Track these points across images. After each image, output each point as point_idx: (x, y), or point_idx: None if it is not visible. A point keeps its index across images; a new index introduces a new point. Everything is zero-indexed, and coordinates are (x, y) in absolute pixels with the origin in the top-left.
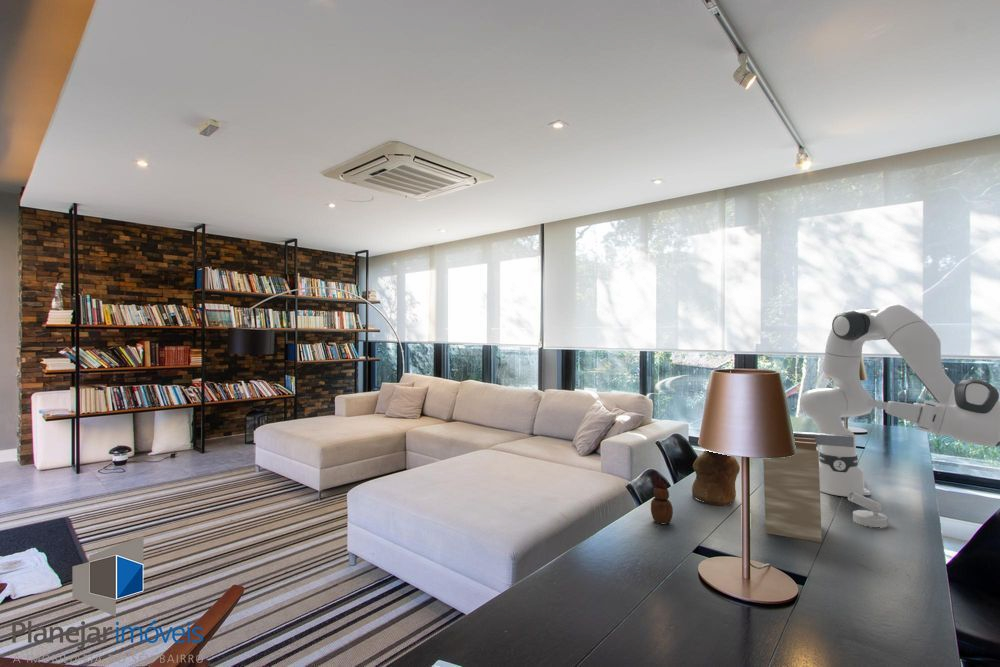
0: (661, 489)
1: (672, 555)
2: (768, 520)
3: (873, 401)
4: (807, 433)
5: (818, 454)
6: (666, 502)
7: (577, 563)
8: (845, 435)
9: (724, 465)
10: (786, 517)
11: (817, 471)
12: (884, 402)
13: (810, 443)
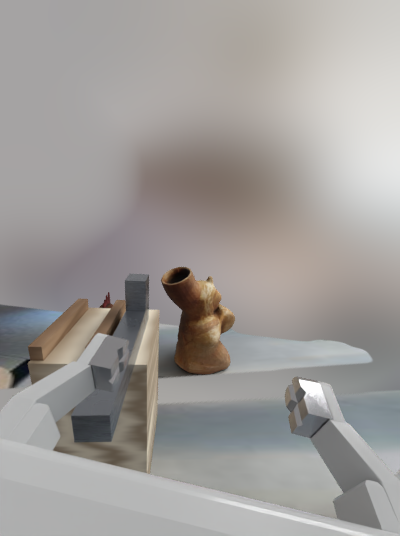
0: (101, 306)
1: (19, 349)
2: None
3: (82, 357)
4: (121, 332)
5: (29, 370)
6: None
7: (11, 312)
8: (103, 396)
9: (185, 326)
10: None
11: None
12: (2, 408)
13: (35, 339)
